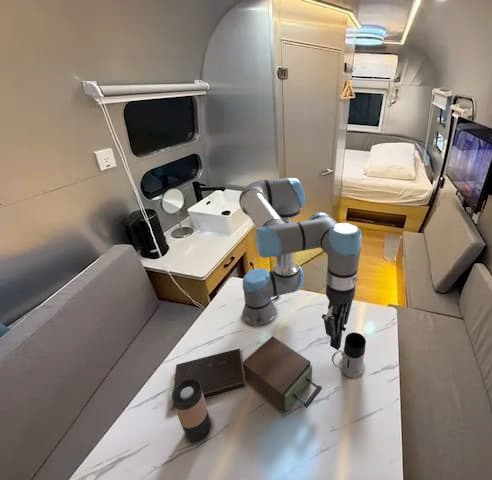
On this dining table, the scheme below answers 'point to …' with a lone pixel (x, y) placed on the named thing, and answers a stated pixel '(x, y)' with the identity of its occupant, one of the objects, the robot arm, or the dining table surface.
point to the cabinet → (274, 370)
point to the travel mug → (192, 410)
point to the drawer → (300, 389)
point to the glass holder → (352, 355)
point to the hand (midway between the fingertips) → (335, 346)
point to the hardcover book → (213, 373)
